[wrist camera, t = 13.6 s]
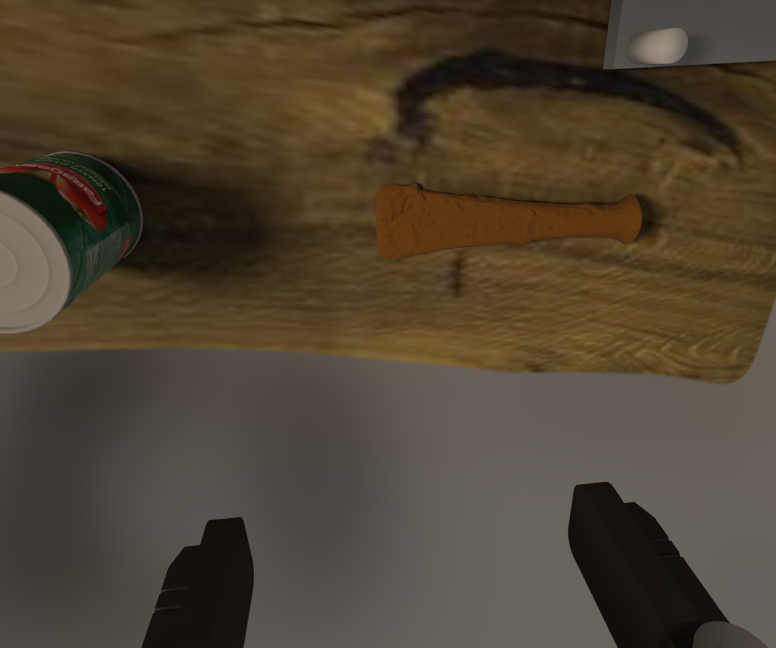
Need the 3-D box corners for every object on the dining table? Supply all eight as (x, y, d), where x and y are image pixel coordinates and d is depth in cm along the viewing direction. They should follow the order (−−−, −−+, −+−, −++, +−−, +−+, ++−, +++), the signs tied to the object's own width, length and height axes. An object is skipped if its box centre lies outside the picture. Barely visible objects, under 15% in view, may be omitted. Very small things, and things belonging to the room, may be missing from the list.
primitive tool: (377, 257, 40) (381, 272, 36) (373, 183, 37) (376, 193, 34) (623, 237, 41) (647, 250, 37) (633, 164, 38) (660, 172, 35)
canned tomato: (131, 151, 34) (48, 183, 25) (152, 264, 38) (87, 332, 28) (4, 150, 34) (-134, 183, 24) (37, 265, 37) (-71, 336, 27)
